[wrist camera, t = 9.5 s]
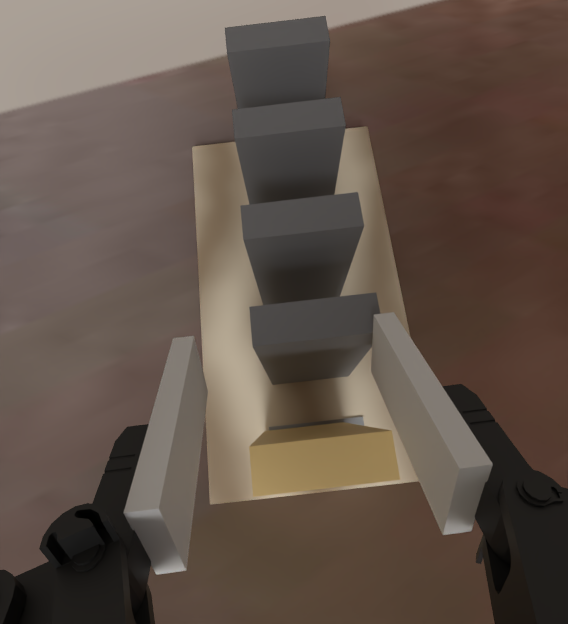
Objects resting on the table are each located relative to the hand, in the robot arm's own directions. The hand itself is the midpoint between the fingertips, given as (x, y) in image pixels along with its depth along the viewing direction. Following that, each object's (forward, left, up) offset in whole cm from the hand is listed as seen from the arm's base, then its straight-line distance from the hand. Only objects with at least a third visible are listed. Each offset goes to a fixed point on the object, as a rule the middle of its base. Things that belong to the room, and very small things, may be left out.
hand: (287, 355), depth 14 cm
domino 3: (-1, -6, -11) cm, 12 cm away
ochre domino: (0, +4, -10) cm, 11 cm away
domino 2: (-1, -11, -11) cm, 15 cm away
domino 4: (-1, -1, -11) cm, 11 cm away
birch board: (-1, -6, -12) cm, 13 cm away
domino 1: (-1, -16, -11) cm, 19 cm away
